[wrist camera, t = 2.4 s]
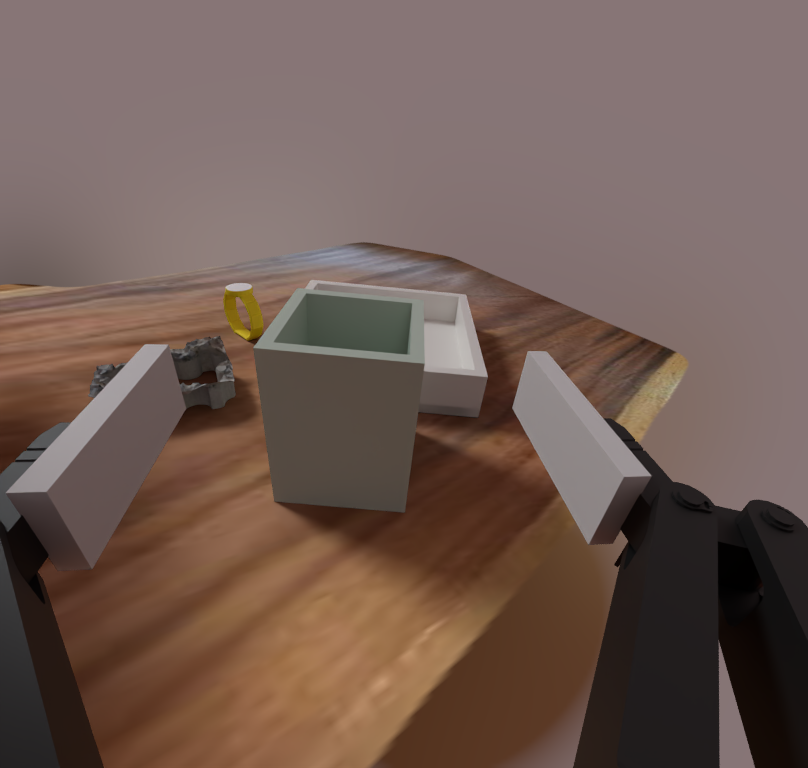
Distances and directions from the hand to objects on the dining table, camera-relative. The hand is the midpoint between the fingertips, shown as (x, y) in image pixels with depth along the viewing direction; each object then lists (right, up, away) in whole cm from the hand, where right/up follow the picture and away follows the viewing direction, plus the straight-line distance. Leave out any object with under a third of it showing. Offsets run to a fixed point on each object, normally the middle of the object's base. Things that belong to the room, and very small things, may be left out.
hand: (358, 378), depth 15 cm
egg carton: (-19, -2, +21) cm, 29 cm away
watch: (-17, +5, +32) cm, 36 cm away
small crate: (-3, -6, +16) cm, 17 cm away
